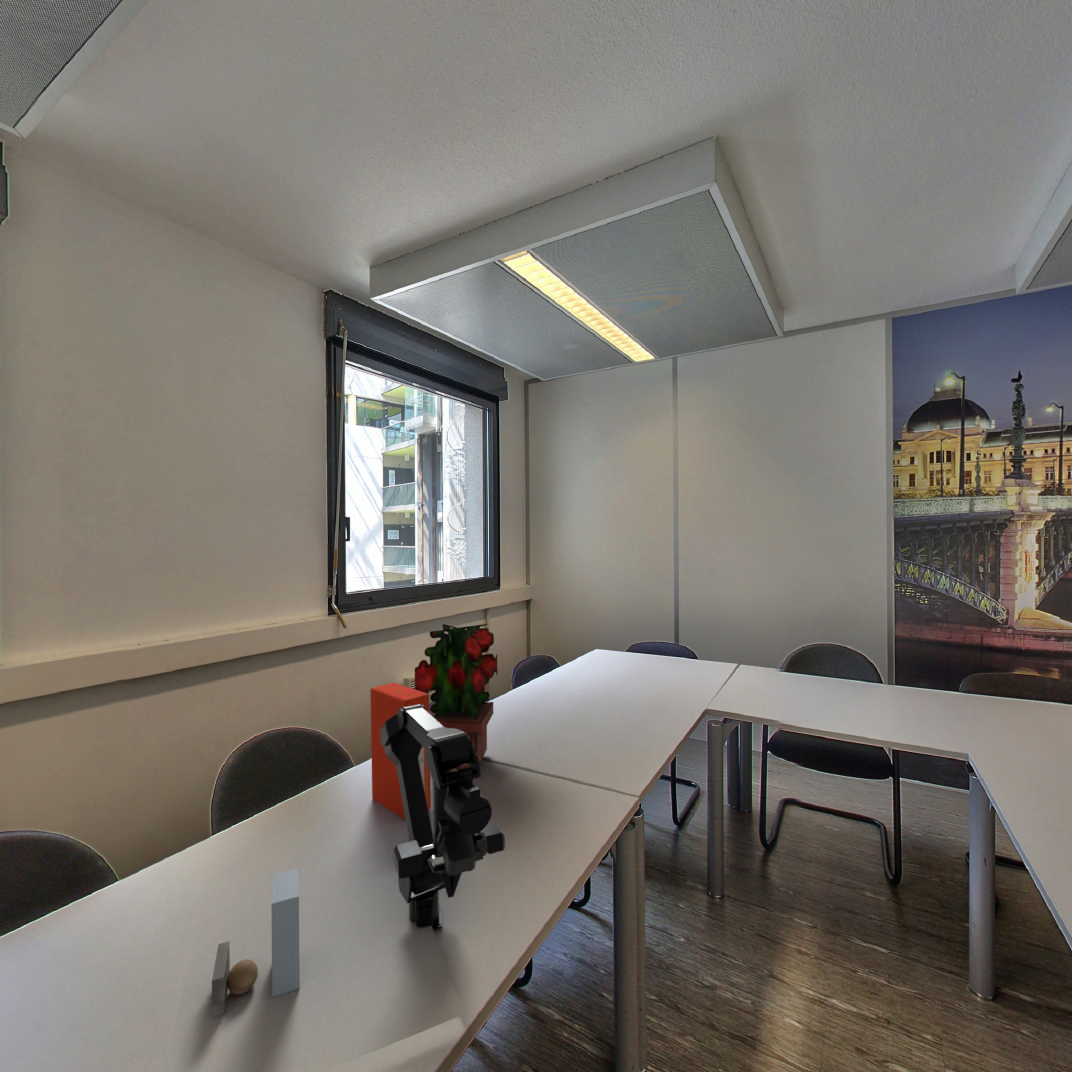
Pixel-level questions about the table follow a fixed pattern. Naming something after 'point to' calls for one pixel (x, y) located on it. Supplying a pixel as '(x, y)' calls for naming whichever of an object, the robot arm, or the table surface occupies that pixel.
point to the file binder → (383, 770)
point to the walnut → (242, 977)
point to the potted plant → (460, 681)
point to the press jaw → (285, 932)
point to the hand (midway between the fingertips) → (450, 896)
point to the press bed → (220, 979)
